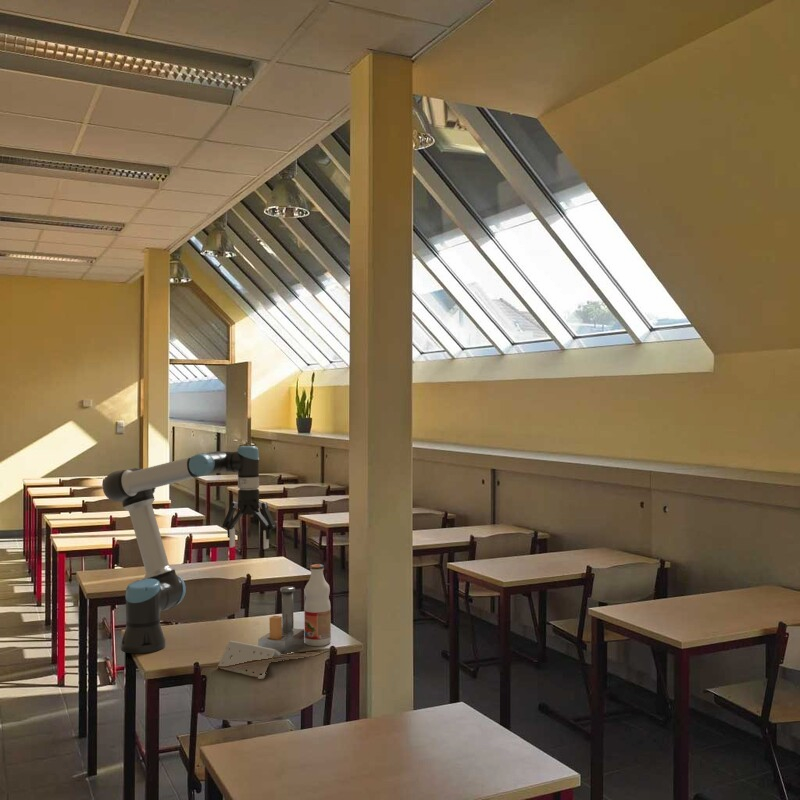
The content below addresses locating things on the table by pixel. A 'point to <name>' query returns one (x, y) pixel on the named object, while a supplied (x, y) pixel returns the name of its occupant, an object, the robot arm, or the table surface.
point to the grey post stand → (285, 628)
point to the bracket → (245, 654)
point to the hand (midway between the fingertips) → (249, 547)
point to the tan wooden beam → (275, 627)
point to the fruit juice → (317, 608)
